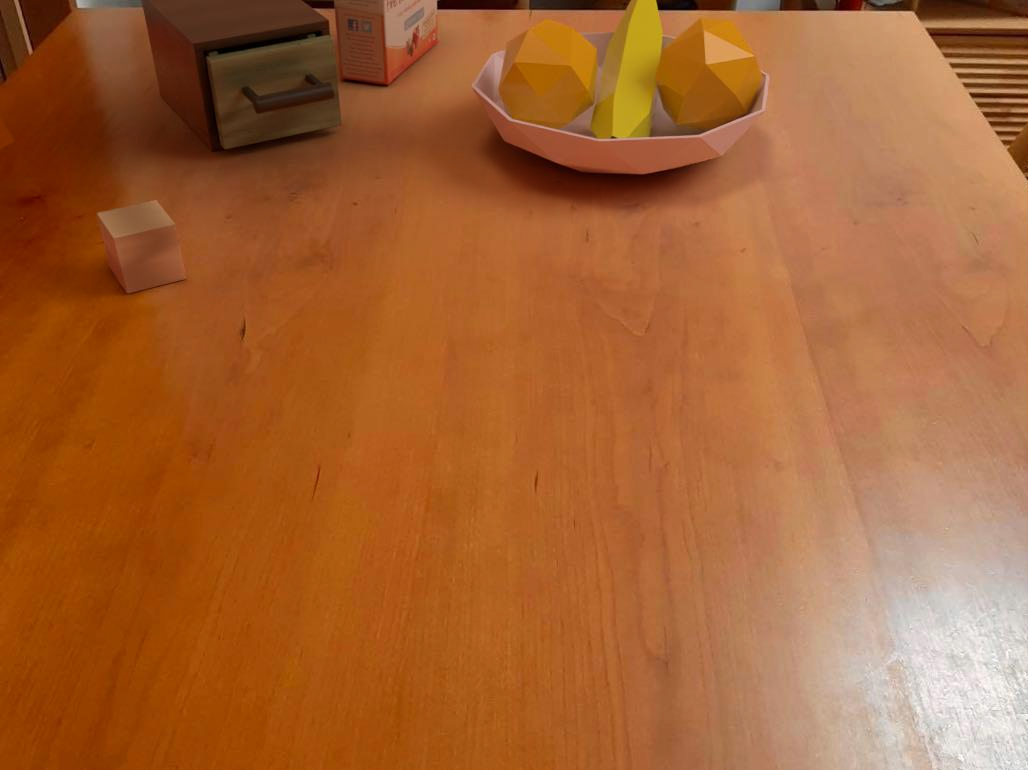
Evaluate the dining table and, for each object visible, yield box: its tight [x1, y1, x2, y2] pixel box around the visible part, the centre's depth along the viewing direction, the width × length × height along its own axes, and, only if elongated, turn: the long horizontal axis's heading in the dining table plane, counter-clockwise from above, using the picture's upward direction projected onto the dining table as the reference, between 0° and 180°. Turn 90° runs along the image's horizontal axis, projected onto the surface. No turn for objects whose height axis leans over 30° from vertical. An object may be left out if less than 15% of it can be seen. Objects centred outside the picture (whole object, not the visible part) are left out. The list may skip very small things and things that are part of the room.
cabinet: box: [141, 0, 331, 152], centre depth 110 cm, size 16×13×10 cm
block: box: [96, 199, 187, 295], centre depth 88 cm, size 5×5×5 cm
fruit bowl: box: [470, 0, 771, 175], centre depth 105 cm, size 28×27×11 cm
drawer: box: [204, 32, 342, 150], centre depth 107 cm, size 19×11×8 cm, turn 30°
